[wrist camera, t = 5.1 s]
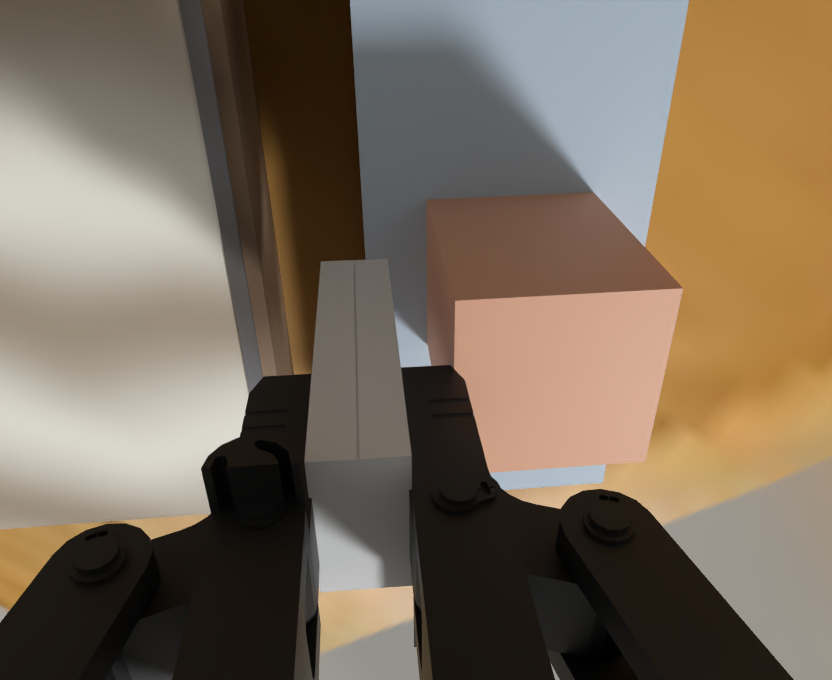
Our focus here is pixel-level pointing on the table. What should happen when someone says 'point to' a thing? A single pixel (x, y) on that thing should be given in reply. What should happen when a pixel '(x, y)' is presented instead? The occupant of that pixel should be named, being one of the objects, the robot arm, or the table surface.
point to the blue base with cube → (524, 214)
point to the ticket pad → (129, 255)
